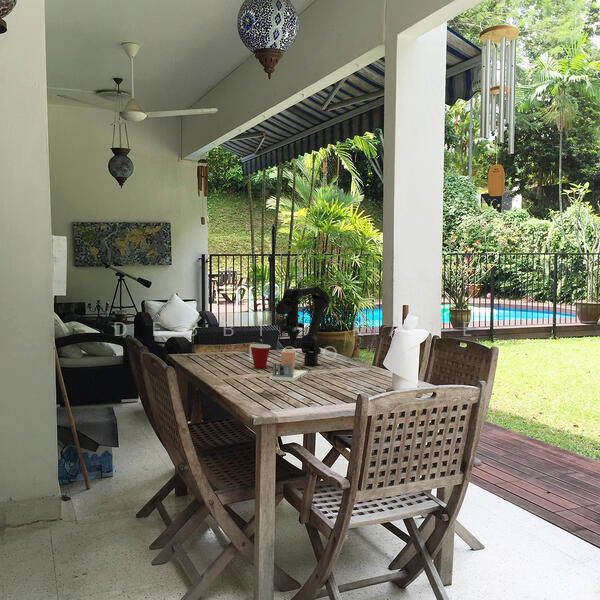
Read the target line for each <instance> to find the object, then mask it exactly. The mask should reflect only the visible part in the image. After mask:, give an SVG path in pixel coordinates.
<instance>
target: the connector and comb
mask: <svg viewBox="0 0 600 600" xmlns="http://www.w3.org/2000/svg"><path fill="white" fill-rule="evenodd" d="M283 369H284V373H283V374H281V373H280V371H281V370H283ZM276 373H278V374H276ZM271 375H272V376H274V377H290V378H292V377H293V375H292V364H289V365H287V364H284V365H282V366H281V363H276V362H274V363H272V374H271Z"/></svg>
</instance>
